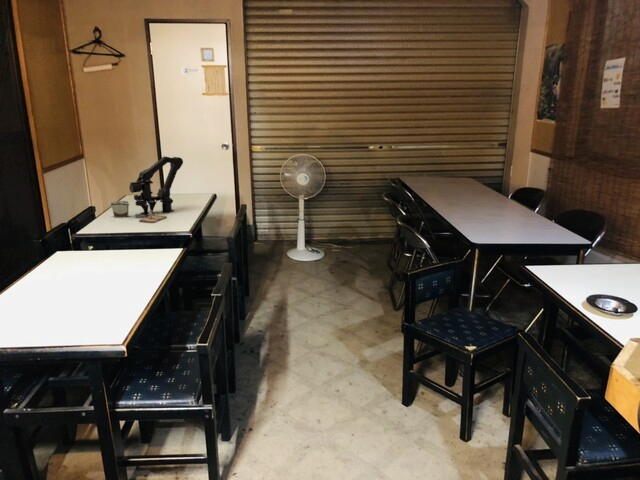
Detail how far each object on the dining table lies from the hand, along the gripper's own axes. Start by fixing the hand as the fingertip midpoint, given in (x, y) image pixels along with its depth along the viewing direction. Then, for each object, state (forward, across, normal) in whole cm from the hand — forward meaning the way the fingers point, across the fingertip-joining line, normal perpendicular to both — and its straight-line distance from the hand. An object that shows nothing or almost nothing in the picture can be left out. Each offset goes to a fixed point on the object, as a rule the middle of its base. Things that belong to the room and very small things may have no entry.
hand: (149, 213), depth 336 cm
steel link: (+1, +4, 0) cm, 4 cm away
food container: (+1, +8, -14) cm, 17 cm away
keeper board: (+1, +11, +11) cm, 16 cm away
